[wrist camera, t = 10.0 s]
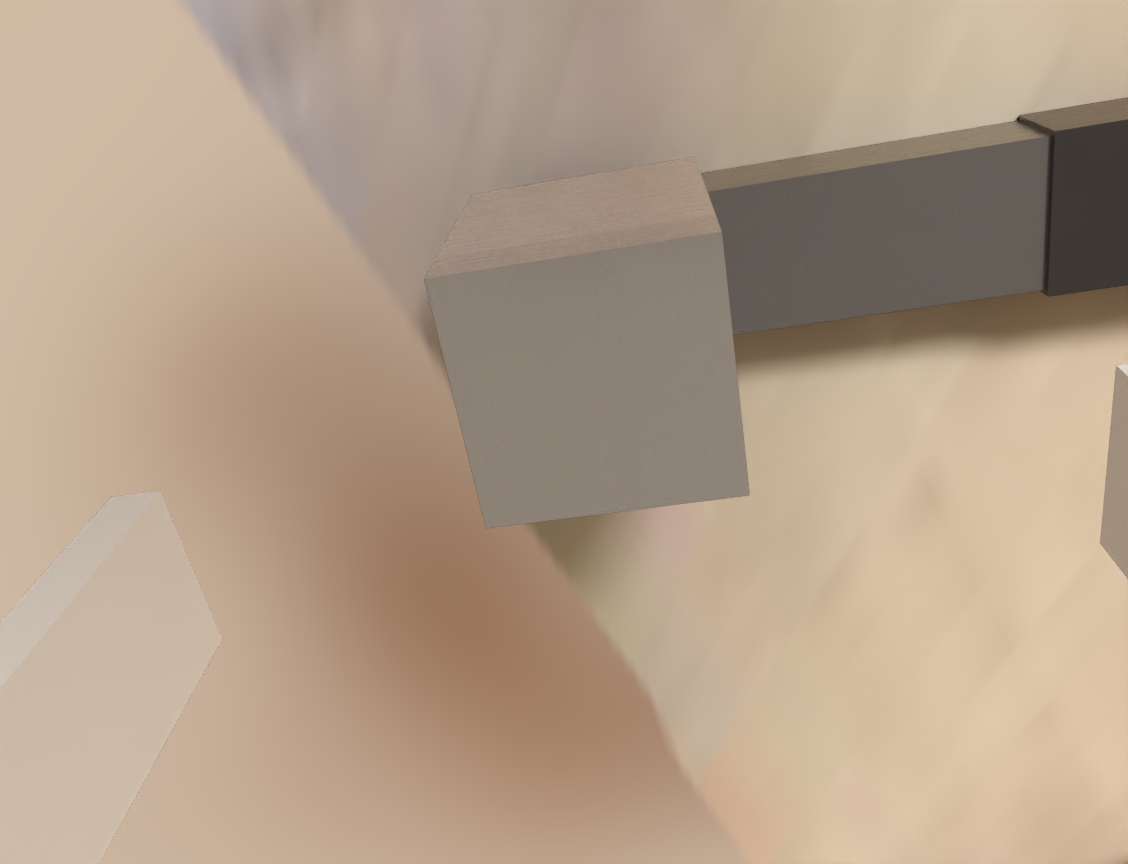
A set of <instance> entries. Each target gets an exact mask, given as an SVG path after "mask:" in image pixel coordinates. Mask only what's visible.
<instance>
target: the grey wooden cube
mask: <svg viewBox="0 0 1128 864" xmlns="http://www.w3.org/2000/svg"><path fill="white" fill-rule="evenodd" d="M424 281H425V285H426V289H427V293H428V297H429V301H430V305H431V309H432V313H433V317H434V321H435V325H436V329H437V334H438V338H439V342H440V346H441V350H442V354H443V358H444V362H445V366H446V370H447V374H448V378H449V382H450V386H451V390H452V394H453V398H454V402H455V406H456V410H457V414H458V418H459V422H460V426H461V430H462V434H463V438H464V443H465V446H466V451H467V454H468V459H469V463H470V467H471V471H472V475H473V479H474V483H475V487H476V491H477V495H478V499H479V503H480V507H481V511H482V515H483V519H484V523H485V527H486V528H494V527H501V526H510V525H518V524H526V523H534V522H542V521H550V520H558V519H566V518H574V517H582V516H590V515H598V514H606V513H614V512H622V511H629V510H637V509H645V508H653V507H661V506H669V505H677V504H685V503H693V502H701V501H709V500H717V499H725V498H733V497H741V496H749V495H750V492H749V483H748V473H747V464H746V454H745V445H744V436H743V426H742V417H741V407H740V398H739V388H738V379H737V370H736V360H735V351H734V341H733V332H732V322H731V313H730V304H729V294H728V285H727V275H726V266H725V256H724V247H723V238H722V231H721V228H720V225H719V222H718V220H717V217H716V214H715V211H714V209H713V206H712V203H711V201H710V198H709V195H708V192H707V190H706V187H705V184H704V181H703V179H702V176H701V173H700V170H699V168H698V165H697V162H696V159H695V157H691V158H685V159H679V160H673V161H667V162H661V163H655V164H649V165H643V166H637V167H631V168H625V169H619V170H613V171H608V172H602V173H596V174H590V175H584V176H578V177H572V178H566V179H560V180H554V181H548V182H542V183H536V184H530V185H524V186H518V187H512V188H506V189H500V190H494V191H488V192H482V193H477V194H472V195H471V197H470V199H469V200H468V202H467V204H466V206H465V207H464V209H463V211H462V213H461V214H460V216H459V218H458V220H457V221H456V223H455V225H454V227H453V229H452V230H451V232H450V234H449V236H448V237H447V239H446V241H445V243H444V244H443V246H442V248H441V250H440V251H439V253H438V255H437V257H436V259H435V260H434V262H433V264H432V266H431V267H430V269H429V271H428V273H427V274H426V276H425V278H424Z"/></svg>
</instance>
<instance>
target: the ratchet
mask: <svg viewBox="0 0 1128 864" xmlns="http://www.w3.org/2000/svg"><path fill="white" fill-rule="evenodd" d="M701 176H702V179H703V181H704V184H705V187H706V190H707V192H708V195H709V198H710V201H711V203H712V206H713V209H714V211H715V214H716V217H717V220H718V222H719V225H720V228H721V231H722V238H723V247H724V256H725V266H726V275H727V285H728V294H729V304H730V313H731V322H732V332H733V335H736V334H743V333H750V332H757V331H764V330H771V329H778V328H785V327H791V326H798V325H805V324H812V323H819V322H826V321H833V320H840V319H846V318H853V317H860V316H867V315H874V314H881V313H888V312H895V311H901V310H908V309H915V308H922V307H929V306H936V305H943V304H950V303H956V302H963V301H970V300H977V299H984V298H991V297H998V296H1005V295H1011V294H1018V293H1025V292H1032V291H1039V290H1040V291H1042V292H1043V293H1044V294H1045V295H1046V296H1055V295H1062V294H1069V293H1076V292H1083V291H1089V290H1096V289H1103V288H1110V287H1117V286H1124V285H1128V97H1127V98H1121V99H1115V100H1109V101H1103V102H1097V103H1091V104H1085V105H1079V106H1073V107H1067V108H1061V109H1055V110H1049V111H1043V112H1037V113H1031V114H1025V115H1019V121H1014V122H1008V123H1002V124H996V125H990V126H984V127H978V128H971V129H965V130H959V131H953V132H947V133H941V134H935V135H929V136H923V137H917V138H911V139H905V140H899V141H893V142H887V143H881V144H875V145H869V146H863V147H857V148H851V149H845V150H839V151H833V152H827V153H821V154H815V155H809V156H803V157H797V158H791V159H784V160H778V161H772V162H766V163H760V164H754V165H748V166H742V167H736V168H730V169H724V170H718V171H712V172H706V173H701Z"/></svg>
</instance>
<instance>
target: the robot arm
mask: <svg viewBox="0 0 1128 864" xmlns="http://www.w3.org/2000/svg"><path fill="white" fill-rule="evenodd" d="M1100 544H1101V545H1102V546H1103V548H1104V549H1105V550H1106V552H1107V553H1108V554H1109V555H1110V557H1111V558H1112V559H1113V561H1114V562H1115V563H1116V564H1117V566H1118V567H1119V568H1120V570H1121V571H1122V572H1123V574H1124V575H1125V576H1126V577H1127V579H1128V364H1123V365H1116V372H1115V383H1114V394H1113V405H1112V416H1111V427H1110V438H1109V449H1108V460H1107V471H1106V482H1105V493H1104V504H1103V515H1102V526H1101V537H1100ZM221 640H222V637H221V635H220V632H219V630H218V628H217V625H216V623H215V620H214V618H213V616H212V613H211V611H210V609H209V606H208V604H207V601H206V599H205V596H204V594H203V592H202V589H201V587H200V585H199V582H198V580H197V577H196V575H195V573H194V570H193V568H192V565H191V563H190V561H189V559H188V556H187V554H186V551H185V549H184V546H183V544H182V542H181V539H180V537H179V534H178V532H177V530H176V528H175V525H174V523H173V520H172V518H171V515H170V513H169V511H168V508H167V506H166V503H165V501H164V499H163V496H162V494H161V492H160V490H159V491H151V492H143V493H136V494H129V495H120V496H112V497H110V498H109V499H108V501H107V502H106V503H105V504H104V505H103V506H102V507H101V509H100V510H99V511H98V512H97V513H96V514H95V515H94V516H93V518H92V519H91V520H90V521H89V522H88V523H87V524H86V526H85V527H84V528H83V529H82V530H81V531H80V532H79V533H78V535H77V536H76V537H75V538H74V539H73V540H72V541H71V542H70V544H69V545H68V546H67V547H66V548H65V549H64V550H63V552H62V553H61V554H60V555H59V556H58V557H57V558H56V560H55V561H54V562H53V563H52V564H51V565H50V566H49V567H48V569H47V570H46V571H45V572H44V573H43V574H42V575H41V577H40V578H39V579H38V580H37V581H36V582H35V583H34V585H33V586H32V587H31V588H30V589H29V590H28V591H27V592H26V594H25V595H24V596H23V597H22V598H21V599H20V600H19V602H18V603H17V604H16V605H15V606H14V607H13V608H12V609H11V611H10V612H9V613H8V614H7V615H6V616H5V617H4V619H3V620H2V621H1V622H0V864H99V863H100V861H101V859H102V857H103V855H104V854H105V852H106V850H107V848H108V846H109V844H110V843H111V841H112V839H113V837H114V835H115V834H116V832H117V830H118V828H119V826H120V824H121V823H122V821H123V819H124V817H125V815H126V814H127V812H128V810H129V808H130V806H131V805H132V803H133V801H134V799H135V797H136V795H137V793H138V792H139V790H140V788H141V786H142V785H143V783H144V781H145V779H146V777H147V775H148V773H149V772H150V770H151V768H152V766H153V765H154V763H155V761H156V759H157V757H158V755H159V754H160V752H161V750H162V748H163V746H164V745H165V743H166V741H167V739H168V737H169V736H170V733H171V732H172V730H173V728H174V727H175V725H176V723H177V721H178V719H179V717H180V716H181V714H182V712H183V710H184V708H185V707H186V705H187V703H188V701H189V699H190V697H191V696H192V694H193V692H194V690H195V688H196V687H197V685H198V683H199V681H200V679H201V677H202V676H203V674H204V672H205V670H206V668H207V667H208V665H209V663H210V661H211V659H212V658H213V656H214V654H215V652H216V650H217V648H218V647H219V645H220V643H221Z"/></svg>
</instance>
